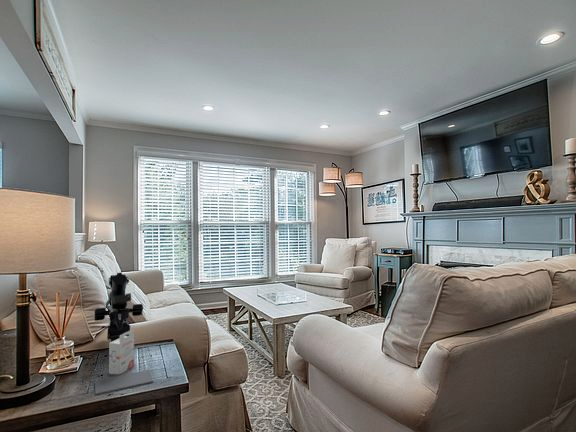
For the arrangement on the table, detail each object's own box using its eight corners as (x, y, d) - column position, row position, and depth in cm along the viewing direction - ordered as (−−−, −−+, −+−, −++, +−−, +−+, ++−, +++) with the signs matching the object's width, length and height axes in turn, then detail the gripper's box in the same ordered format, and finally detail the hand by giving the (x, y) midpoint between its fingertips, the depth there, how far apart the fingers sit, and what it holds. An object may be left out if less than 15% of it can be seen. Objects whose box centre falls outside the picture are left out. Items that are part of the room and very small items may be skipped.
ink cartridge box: (123, 364, 134) (124, 328, 135) (134, 365, 133) (135, 328, 134) (107, 373, 126) (108, 334, 126) (119, 375, 125) (120, 335, 125)
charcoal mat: (95, 381, 119) (95, 380, 119) (148, 370, 128) (148, 369, 128) (95, 395, 110) (95, 393, 110) (153, 382, 119) (153, 380, 119)
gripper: (95, 289, 140) (94, 322, 130) (142, 285, 150) (145, 315, 140) (94, 304, 147) (94, 336, 137) (140, 299, 156) (143, 329, 146)
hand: (119, 329), depth 140 cm, fingers closed
